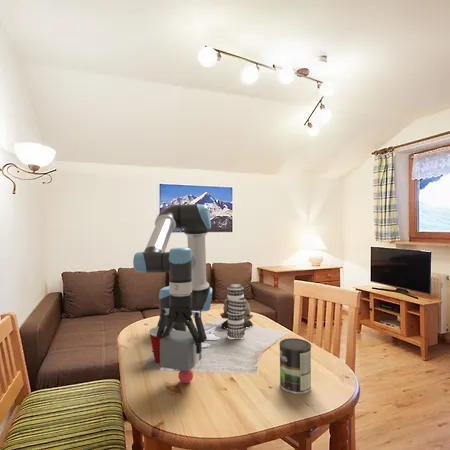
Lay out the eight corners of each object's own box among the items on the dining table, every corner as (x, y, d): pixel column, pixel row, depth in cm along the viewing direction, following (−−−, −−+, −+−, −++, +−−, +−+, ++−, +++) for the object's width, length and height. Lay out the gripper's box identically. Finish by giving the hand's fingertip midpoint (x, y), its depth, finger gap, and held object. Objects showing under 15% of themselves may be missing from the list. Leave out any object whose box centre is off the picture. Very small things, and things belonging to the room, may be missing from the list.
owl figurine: (223, 331, 160) (223, 297, 160) (217, 324, 171) (216, 293, 171) (256, 327, 165) (255, 294, 165) (247, 321, 176) (247, 290, 177)
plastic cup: (170, 366, 120) (170, 335, 120) (144, 364, 122) (143, 333, 122) (180, 355, 130) (179, 326, 130) (155, 353, 132) (155, 325, 132)
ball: (174, 376, 105) (178, 385, 107) (188, 378, 104) (191, 387, 106) (180, 363, 109) (183, 372, 112) (193, 364, 108) (196, 373, 110)
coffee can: (284, 395, 99) (284, 350, 99) (276, 379, 109) (276, 338, 109) (316, 393, 100) (315, 349, 100) (305, 377, 110) (304, 337, 110)
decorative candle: (241, 332, 157) (240, 282, 157) (248, 338, 148) (247, 285, 148) (224, 334, 154) (223, 283, 154) (230, 341, 145) (229, 287, 145)
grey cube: (175, 354, 112) (175, 330, 112) (201, 358, 108) (201, 333, 108) (160, 366, 102) (159, 339, 102) (188, 371, 98) (188, 343, 99)
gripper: (145, 294, 106) (145, 360, 105) (207, 298, 98) (208, 370, 98) (157, 290, 113) (157, 352, 112) (216, 293, 105) (217, 360, 105)
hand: (181, 360), depth 105 cm, fingers closed on grey cube, 10 cm apart
